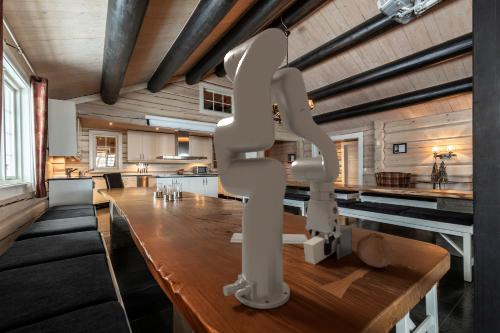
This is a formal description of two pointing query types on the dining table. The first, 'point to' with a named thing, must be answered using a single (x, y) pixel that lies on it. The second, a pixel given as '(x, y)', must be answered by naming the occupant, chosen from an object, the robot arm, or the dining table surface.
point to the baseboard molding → (286, 238)
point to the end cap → (344, 242)
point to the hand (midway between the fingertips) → (322, 252)
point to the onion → (375, 250)
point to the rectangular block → (317, 248)
